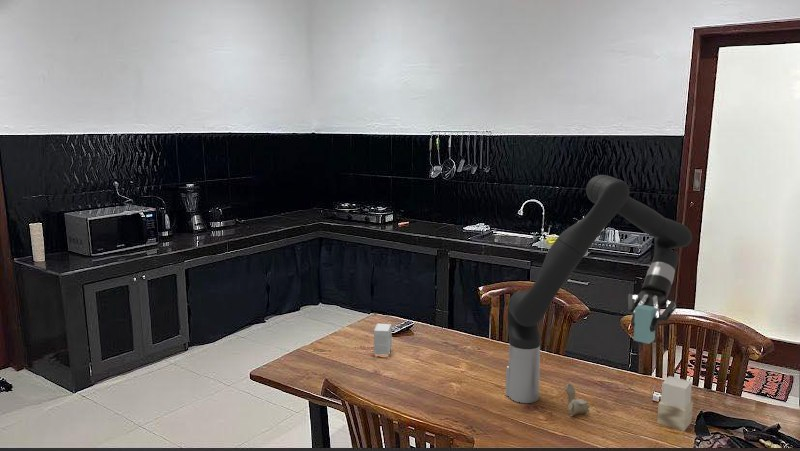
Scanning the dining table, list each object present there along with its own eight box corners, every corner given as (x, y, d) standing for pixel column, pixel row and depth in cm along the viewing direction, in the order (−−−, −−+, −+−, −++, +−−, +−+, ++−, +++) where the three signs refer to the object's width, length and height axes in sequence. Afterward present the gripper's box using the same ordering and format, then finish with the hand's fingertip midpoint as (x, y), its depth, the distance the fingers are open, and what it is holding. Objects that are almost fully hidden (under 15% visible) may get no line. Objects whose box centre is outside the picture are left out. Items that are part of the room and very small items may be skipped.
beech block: (657, 423, 159) (658, 403, 158) (665, 414, 164) (666, 394, 163) (683, 431, 154) (685, 411, 153) (691, 421, 159) (692, 401, 158)
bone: (592, 418, 159) (574, 385, 160) (571, 425, 161) (553, 394, 162) (593, 406, 167) (576, 375, 168) (574, 414, 169) (557, 384, 170)
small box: (377, 349, 217) (377, 323, 215) (392, 350, 216) (391, 323, 214) (373, 357, 209) (373, 330, 207) (388, 358, 208) (388, 330, 206)
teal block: (633, 340, 167) (635, 307, 166) (639, 336, 171) (640, 304, 169) (649, 343, 164) (651, 310, 163) (654, 339, 168) (656, 307, 166)
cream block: (660, 403, 158) (662, 382, 157) (667, 395, 162) (669, 375, 161) (684, 409, 154) (685, 388, 153) (690, 401, 158) (691, 381, 157)
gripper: (632, 270, 175) (615, 317, 168) (681, 277, 165) (665, 327, 158) (637, 283, 180) (621, 329, 173) (685, 291, 170) (670, 340, 163)
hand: (642, 328), depth 166 cm, fingers closed on teal block, 4 cm apart
